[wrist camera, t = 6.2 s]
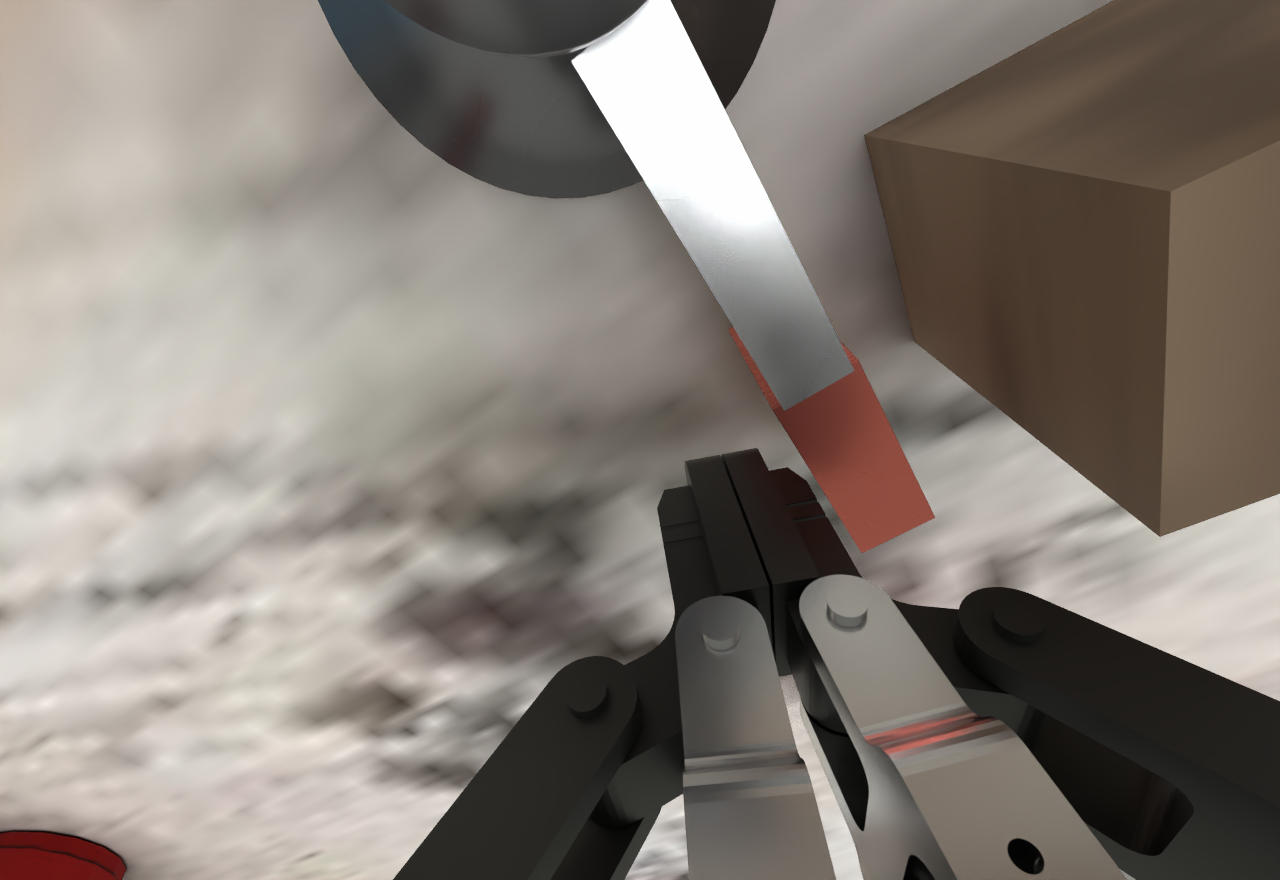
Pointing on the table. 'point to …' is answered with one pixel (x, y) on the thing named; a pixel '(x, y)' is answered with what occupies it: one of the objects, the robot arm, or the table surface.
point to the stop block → (1110, 247)
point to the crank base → (523, 79)
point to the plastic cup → (55, 858)
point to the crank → (752, 269)
